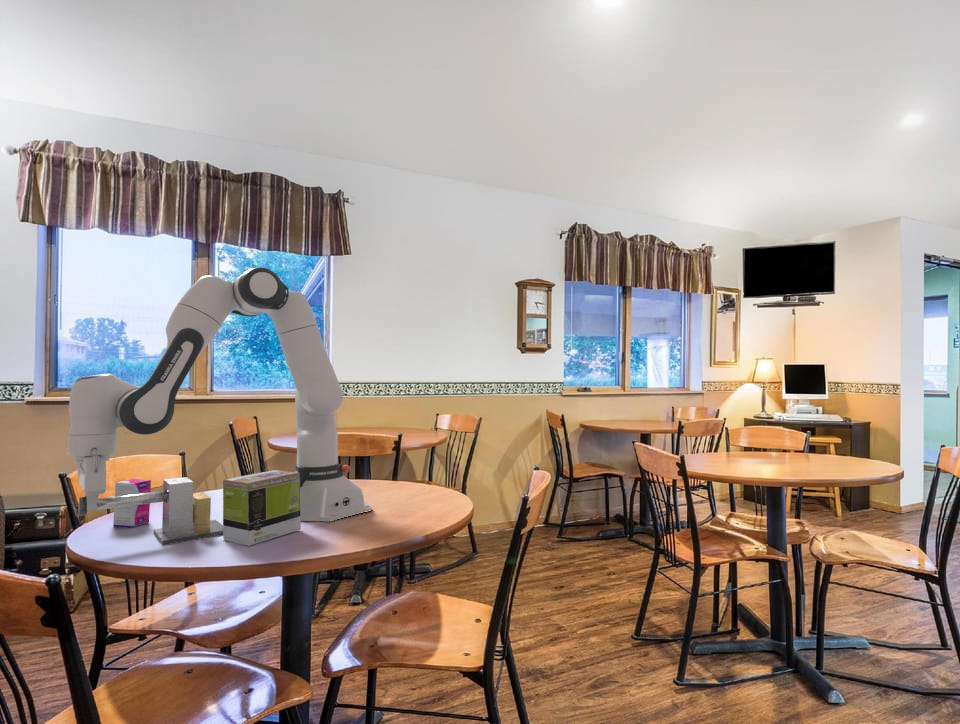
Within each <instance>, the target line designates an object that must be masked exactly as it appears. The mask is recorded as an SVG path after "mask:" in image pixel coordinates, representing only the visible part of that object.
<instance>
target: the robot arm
mask: <svg viewBox="0 0 960 724" xmlns="http://www.w3.org/2000/svg"><path fill="white" fill-rule="evenodd" d="M264 313H265V314H266V315H267V316H268V317H269V318H270V319H271V320H272V322H273V324H274V327H275V331H276V335H277V337H278V340H279V343H280V346H281V350H282V353H283V356H284V359H285V363H286V364H287V367H288V369H289V372H290V374H291V377H292V380H293V382H294V384H295V387H296V390H295V393H294V394H295V397H294V398H295V399H294V402H295V407H294V408H295V424H296V427H295V428H296V437H297V438H296V439H297V440H296V464H295V466H294V472H296V473H300V518H301V522H302V521H303V522H326V523H327V522H329V521H330V522H334V520H335V521H338V520H337V519H339V520H342V519H341V518H343V519H345V518H344V517H347V518H349V517H348V516H351V515H355V514H358V513H361V512H365V511H369V510H371V509H372V510H373V507H372V506H371V504H369V503H367V502H365V499H364V493H363V490H362V488H361V487H359V486H358V485H357V484H355V483H354V482H353V481H351V480H350V479H348V478H347V477H346V476H345V475H344V473H349V472H350V471H351V466H349V464H341V463H339V461H338V460H339V459H338V458H339V456H338V455H339V451H338V450H339V445H338V444H339V442H338V441H339V435H338V430H337V429H338V428H337V422H336V412H337V411H338V409H339V408H340V407H341V405H342V402H343V397H344V394H343V390H342V388H341V386H340V383H339V380H338V377H337V375H336V372H335V370H334V368H333V365H332V363H331V361H330V358H329V356H328V353H327V350H326V347H325V345H324V341H323V338H322V335H321V331H320V328H319V326H318V325H319V324H318V322H317V319H316V315H315V314H314V311H313V308H312V307H311V305H310V303H309V301H308V299H307V297H306V296H305V294H304V293H302V292H300V291H297V290H289V287H288V286H287V285H286V284H285V283H284V282H283V281H282V280H281V278H280V277H279V276H278V275H277V274H276V273H275V272H274V271H272V270H271V269H269V268H266V267H260V266H259V267H252V268H248V269H247V270H246V271H244V272H243V273H241V274H240V275H239V276H238V277H237V278H236V279H235V280H233V281H226V280H225V279H223V278H221V277H218V276H215V275H203V276H202V277H200V278H198V279H197V280H196V282H195V283H193V284H192V285H191V286H190V287H189V289H188V290H187V291H186V292H185V293H184V294H183V296H182V297H181V298H180V300H179V301H178V303H177V304H176V306H175V307H174V309H173V311H172V312H171V315H170V317H169V318H168V321H167V324H166V327H165V334H166V337H167V338H166V340H167V344H166V349H165V351H164V353H163V355H162V357H161V358H160V360H159V362H158V363H157V365H156V367H155V368H154V370H153V372H152V373H151V375H150V376H149V378H148V380H147V381H146V382H145V383H144V384H143V385H142V386H138V385H135V384H133V383H130V382H127V381H125V380H122V379H121V378H119V377H117V376H116V375H115V374H113V373H112V374H111V373H101V374H100V373H99V374H94V375H93V374H92V375H88V376H83V377H80V378H78V379H76V380H75V381H74V382H73V384H72V386H71V390H70V395H69V402H68V416H69V419H70V427H69V430H68V432H67V456H68V457H74V464H76V470H77V477H78V478H77V479H78V482H79V484H80V487H81V489H82V491H83V494H84V497H87V512H93V511H94V512H95V511H97V510H96V509H97V501H98V499H99V495H102V494H105V493H106V489H107V462H109V461H110V459H111V458H110V456H111V455H112V454H116V453H117V450H118V449H117V446H118V445H117V444H118V429H119V428H121V427H124V428H125V429H127V430H128V431H130V432H132V433H135V434H137V435H142V436H143V435H145V436H147V435H152V434H153V435H154V434H155V433H159V432H160V431H162V430H163V429H166V427H167V426H169V424H170V423H171V421H172V420H173V416H174V414H175V406H176V405H175V402H176V398H177V394H178V392H179V390H180V388H181V386H182V384H183V382H184V380H185V379H186V378H187V375H188V374H189V372H190V370H191V368H192V367H193V365H194V363H195V362H196V360H197V358H198V357H199V356H200V355H201V354H202V352H203V351H204V350H205V349H206V348H207V346H208V345H209V344H210V343H211V342H212V341H213V339H214V338H215V336H216V335H217V334H218V332H219V330H220V329H221V327H222V325H223V324H224V322H225V321H226V319H227V317H228V316H229V315H230V314H235V315H239V316H242V317H249V318H250V317H257V316H259V315H261V314H264ZM355 516H356V515H355ZM351 517H352V516H351Z"/></svg>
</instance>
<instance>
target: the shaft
mask: <svg viewBox="0 0 960 724" xmlns="http://www.w3.org/2000/svg"><path fill="white" fill-rule="evenodd" d="M167 494H168V491H163V490H159V491H150V493H142V494H134V495H125V496H117V497H115V496H108V497H102V498H98V501H97V509H96V510H95V511H101V510H108V509H109V510H110V509H114V508H118V507H126V506H133V505H141V504H149V503H150V504H156V503H163V502H164V501H167ZM87 513H88V511H87V497H85V496H80V497H79V498H78V516H79V517H81V516H86V515H87Z"/></svg>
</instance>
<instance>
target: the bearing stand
mask: <svg viewBox="0 0 960 724" xmlns="http://www.w3.org/2000/svg"><path fill="white" fill-rule="evenodd" d="M162 488H163V489H162V491H168V494H167V501H164V502H162V520H161V521H162V522H161V523H162V525H161V528H155V529H153V535H154V536H155V538H156V539H157V541H159V543H160V544H161V545H162V546H166V544H167V545H171V543H172V544H176V542H178V543H182V541H184V542H188V541H187V540H189V541H193V539H195V540H199V539H198V538H201V539H205V538H204V537H206V538H212V537H216V536H217V535H218V536H222V535H223V523H220V522H219V521H218V520H217V519H210V531H204V532H198V533H196V532H195V531H194V530H193V529H192V525H193V494H194V481H193V480H191V479H190V478H188V477H187V476H185V477H184V476H183V477H177V478H175V477H174V478H166V479H163V483H162ZM211 536H212V537H211Z"/></svg>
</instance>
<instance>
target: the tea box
mask: <svg viewBox="0 0 960 724" xmlns="http://www.w3.org/2000/svg"><path fill="white" fill-rule="evenodd" d="M222 494H223V495H222V502H223V503H222V512H223V513H222V525H223V540H224V541H225V540H226V542H230V543H233V544H236V545H237V544H238V545H242V546H245V547H246V546H247V547H249V546H250V547H251V546H253V545H256V544H260V543H263V542H266V541H269V540H272V539H275V538H279V537H281V536H284V535H287V534H290V533H291V534H292V533H294V532H297V531H300V530H301V525H302V524H301V522H302V521H301V518H300V473H296V472H295V471H286V470H276V469H273V470H267V471H263V472H262V471H261V472H257V473H256V472H255V473H251V474H250V473H249V474H246V475H240V476H236V477H235V476H234V477H231V478H226V479H223V481H222Z"/></svg>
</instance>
